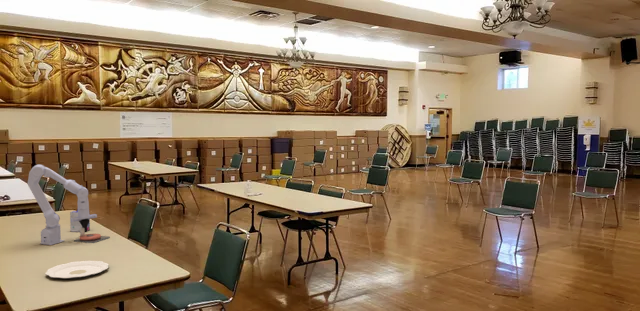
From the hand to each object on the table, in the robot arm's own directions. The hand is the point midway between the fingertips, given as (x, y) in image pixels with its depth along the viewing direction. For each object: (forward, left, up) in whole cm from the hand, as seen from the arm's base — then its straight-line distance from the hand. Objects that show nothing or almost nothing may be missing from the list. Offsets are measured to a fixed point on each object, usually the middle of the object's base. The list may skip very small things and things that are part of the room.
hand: (84, 232), depth 273 cm
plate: (-50, -42, -5) cm, 65 cm away
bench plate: (+1, -4, -4) cm, 6 cm away
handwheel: (0, -3, -3) cm, 5 cm away
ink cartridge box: (+17, +20, -5) cm, 27 cm away
